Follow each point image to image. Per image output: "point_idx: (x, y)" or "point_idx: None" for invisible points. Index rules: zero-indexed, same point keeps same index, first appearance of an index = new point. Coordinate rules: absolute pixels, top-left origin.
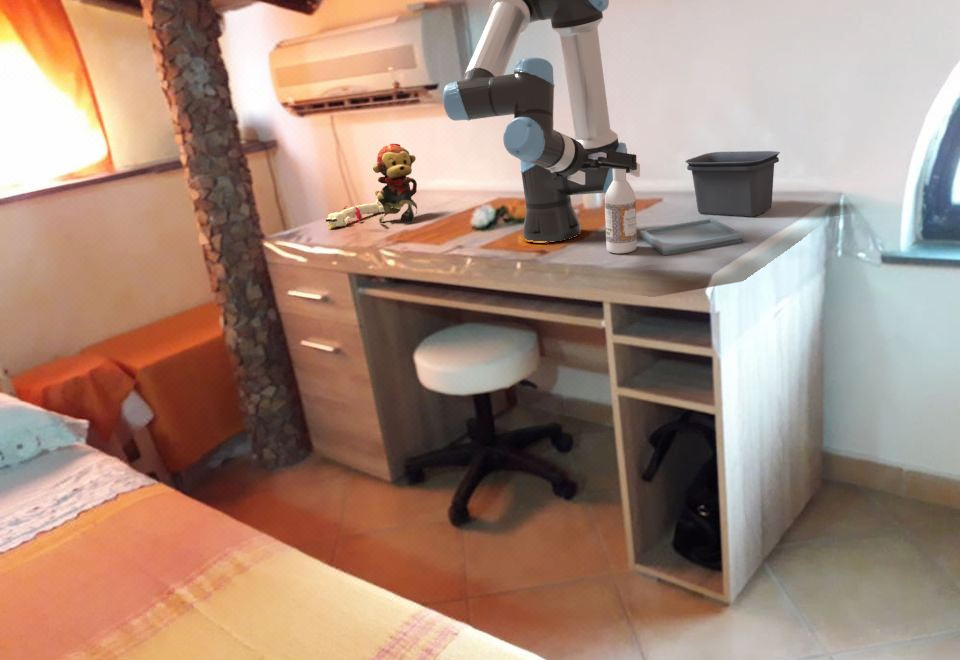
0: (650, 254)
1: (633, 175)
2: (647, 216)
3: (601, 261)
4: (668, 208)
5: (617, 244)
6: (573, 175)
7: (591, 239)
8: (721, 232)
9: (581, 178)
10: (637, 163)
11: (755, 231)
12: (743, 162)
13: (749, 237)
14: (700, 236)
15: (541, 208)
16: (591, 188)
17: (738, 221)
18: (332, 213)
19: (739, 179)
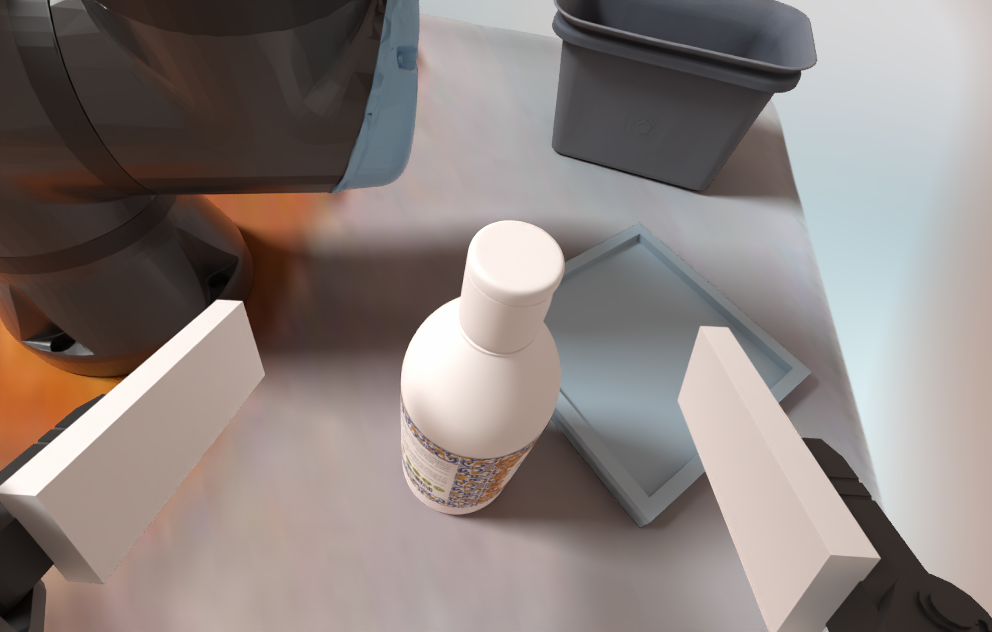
0: (582, 512)
1: (693, 438)
2: (425, 151)
3: (421, 619)
4: (459, 107)
5: (464, 508)
6: (132, 493)
7: (306, 329)
8: (716, 324)
9: (226, 383)
10: (742, 354)
11: (768, 293)
12: (774, 67)
13: (786, 342)
14: (678, 358)
15: (30, 271)
16: (272, 189)
17: (679, 215)
18: None
19: (715, 103)
